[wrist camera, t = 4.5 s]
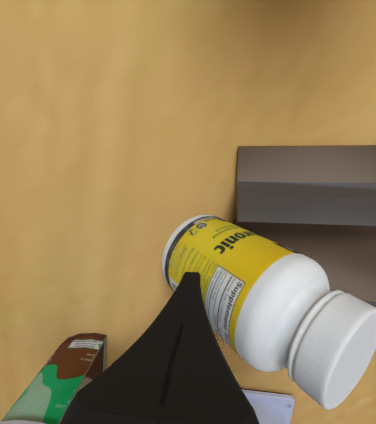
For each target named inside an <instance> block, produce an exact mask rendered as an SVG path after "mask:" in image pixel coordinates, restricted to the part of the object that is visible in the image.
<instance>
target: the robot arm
mask: <svg viewBox="0 0 376 424" xmlns="http://www.w3.org/2000/svg"><path fill="white" fill-rule="evenodd" d="M200 280H201V279H200V274H199V272H185V273H184V275H183V277H182V279H181V281H180V283H179V285H178V287H177V288H176V290H175V292H174V293H173V295H172V296H171V298H170V300H169V301H168V303H167V304H166V306H165V307H164V308H163V310H162V311H161V312H160V314H159V315H158V317H157V318H156V319H155V320H154V322H153V323H152V324H151V325H150V327H149V328H148V329H147V330H146V331H145V332H144V333H143V335H142V336H141V337H140V338H139V339H138V340H137V341H136V342H135V343H134V344H133V345H132V346H131V347H130V348H129V349H128V350H127V351H126V352H125V353H124V354H123V355H122V356H121V357H120V358H118V359H117V360H116V361H115V362H114V363H113V364H112V365H111V366H109V367H108V368H107V369H106V370H105V371H104V372H102V373H101V374H100V375H99V376H97V377H96V378H95V379H93V380H92V381H91V382H90V383H88V384H87V385H86V386H84V387H83V388H82V389H80V390H79V391H78V392H77V393H76V395H75V396H74V398H73V400H72V401H71V403H70V405H69V406H68V408H67V410H66V412H65V414H64V416H63V418H62V420H61V422H60V424H290V422H291V418H292V413H293V408H294V404H295V401H294V398H293V396H291V395H286V394H277V393H269V392H261V391H252V390H244V389H241V387H240V386H239V384H238V382H237V380H236V379H235V377H234V375H233V373H232V371H231V370H230V368H229V366H228V364H227V362H226V360H225V358H224V356H223V354H222V352H221V350H220V347H219V345H218V343H217V340H216V338H215V336H214V333H213V331H212V328H211V325H210V322H209V319H208V316H207V313H206V310H205V306H204V302H203V298H202V293H201V287H200Z"/></svg>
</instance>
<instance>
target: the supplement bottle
mask: <svg viewBox="0 0 376 424" xmlns="http://www.w3.org/2000/svg"><path fill="white" fill-rule="evenodd" d="M185 272H199V274H200V279H201V280H200V287H201V293H202V298H203V302H204V306H205V310H206V313H207V316H208V319H209V322H210V325H211V328H212V330H214V331H215V332H216V333H217V334H218V335H219V336H220V337H221V338H222V339H223V340H224V341H225V342H226V343H227V344H228V345H229V346H230V347H231V348H232V349H233V350H234V351H235V352H236V353H237V354H238V355H239V356H240V357H241V358H242V359H243V360H245V361H246V362H247V363H248V364H249V365H250V366H252V367H253V368H255V369H257V370H259V371H263V372H275V371H279V370H282V369H284V368H287V369H288V375H289V377H290V378H291V380H292V381H294V382H296V384H297V385H298V386H299V387H300V388H301V389H302V390H303V391H304V392H305V393H307V394H308V395H309V396H310V397H311V398H312V399H314V400H315V401H316V402H317V403H318V404H319V405H321V406H322V407H323V408H325V409H327V410H328V409H333V408H335V407H336V406H338V405H339V404H340V403H341V402H342V401H343V400H344V399H345V398H346V397H347V396H348V395H349V394H350V392H351V391H352V390H353V389H354V387H355V386H356V384H357V383H358V382H359V380H360V378H361V377H362V375H363V373H364V372H365V370H366V368H367V366H368V364H369V362H370V360H371V358H372V356H373V354H374V352H375V349H376V307H374V306H372V305H370V304H368V303H366V302H364V301H362V300H360V299H358V298H356V297H354V296H353V295H351V294H348V293H344V292H343V291H340V290H335V291H332V292H330V287H329V281H328V278H327V275H326V273H325V271H324V270H323V268H322V267H321V266H320V265H319V264H318V263H317V262H316V261H314V260H313V259H311V258H309V257H307V256H305V255H303V254H301V253H299V252H297V251H294V250H292V249H289V248H287V247H285V246H282V245H280V244H278V243H275V242H273V241H271V240H268V239H266V238H264V237H262V236H259V235H257V234H255V233H253V232H250V231H248V230H246V229H244V228H241V227H239V226H237V225H234V224H232V223H230V222H228V221H226V220H223V219H221V218H219V217H216V216H212V215H199V216H195V217H193V218H190V219H188V220H187V221H185V222H184V223H182V224H181V225H180V226H179V227H178V228H177V229H176V230H175V231H174V232H173V233H172V235H171V236H170V238H169V240H168V242H167V244H166V246H165V248H164V252H163V256H162V273H163V276H164V279H165V281H166V283H167V284H168V285H169V287H170V288H171V289H172V290H173V291H174V292H175V290H176V288H177V287H178V285H179V283H180V281H181V279H182V277H183V275H184V273H185Z"/></svg>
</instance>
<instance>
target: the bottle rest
mask: <svg viewBox="0 0 376 424" xmlns="http://www.w3.org/2000/svg"><path fill="white" fill-rule="evenodd" d="M235 225H237V226H239V227H241V228H244V229H246V230H248V231H250V232H253V233H255V234H257V235H259V236H262V237H264V238H266V239H268V240H271V241H273V242H275V243H278V244H280V245H282V246H285V247H287V248H289V249H292V250H294V251H297V252H299V253H301V254H303V255H305V256H307V257H309V258H311V259H313V260H314V261H316V262H317V263H318V264H319V265H320V266H321V267H322V268H323V270H324V271H325V273H326V275H327V278H328V281H329V287H330V292H332V291H335V290H340V291H343V292H344V293H348V294H351V295H353V296H354V297H356V298H358V299H360V300H362V301H364V302H366V303H368V304H370V305H372V306H374V307H376V145H360V146H238V161H237V183H236V204H235Z"/></svg>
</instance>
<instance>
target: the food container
mask: <svg viewBox="0 0 376 424" xmlns="http://www.w3.org/2000/svg"><path fill="white" fill-rule="evenodd" d="M106 341H107V335H103V334H98V333H82V334H77V335H75V336H72V337H69V338H67V339H66V340H65V341H64V342H63V343H62V344H61V345H60V346H59V348H58V349H57V350H56V351H55V353H54V354H53V355H52V357H51V358H50V359H49V360H48V362H47V363H46V364H45V366H44V367H43V368H42V369H41V371H40V372H39V373H38V374H37V376H36V377H35V378H34V380H33V381H32V382H31V383H30V385H29V386H28V387H27V389H26V390H25V391H24V392H23V394H22V395H21V396H20V398H19V399H18V400H17V401H16V403H15V404H14V405H13V407H12V408H11V409H10V410H9V412H8V413H7V414H6V415H5V417H4V418H3V419H2V421H1V422H0V424H60V422H61V420H62V418H63V416H64V414H65V412H66V410H67V408H68V406H69V405H70V403H71V401H72V400H73V398H74V396H75V395H76V393H77V392H78V391H79V390H80V389H82V388H83V387H84V386H86V385H87V384H88V383H90V382H91V381H92V380H93V379H95V378H96V377H97V376H99V375H100V374H101V373H102V372H104V371H105V365H106Z"/></svg>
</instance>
